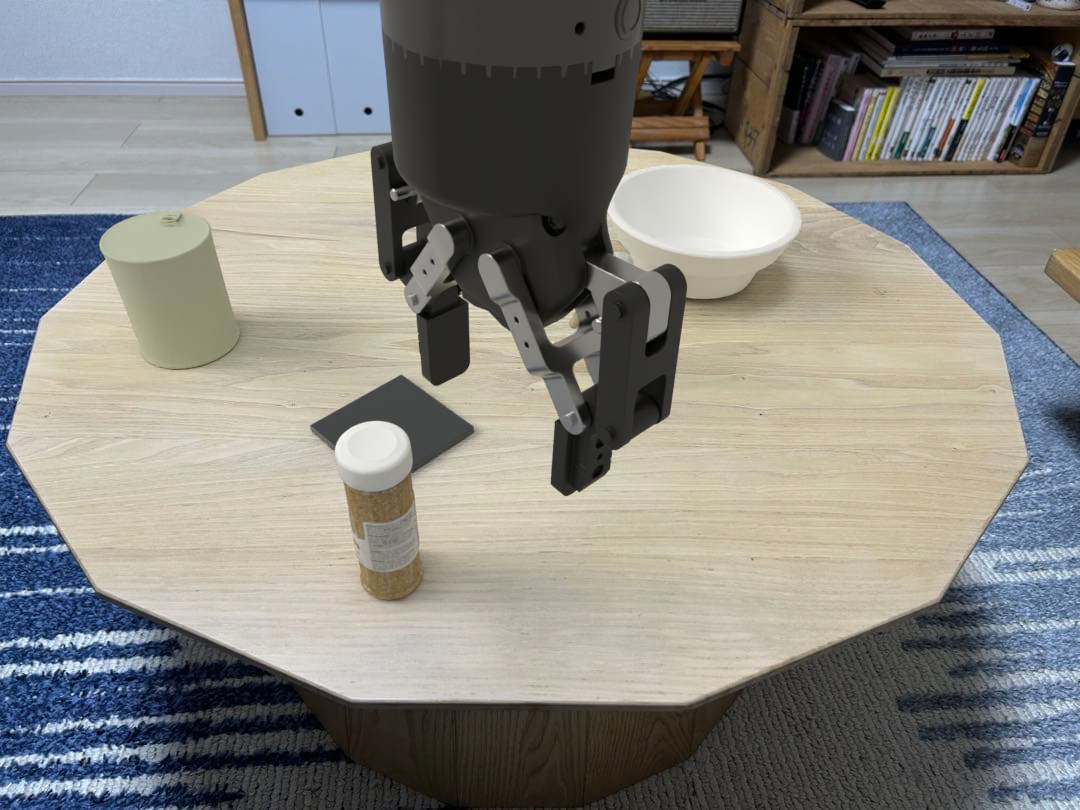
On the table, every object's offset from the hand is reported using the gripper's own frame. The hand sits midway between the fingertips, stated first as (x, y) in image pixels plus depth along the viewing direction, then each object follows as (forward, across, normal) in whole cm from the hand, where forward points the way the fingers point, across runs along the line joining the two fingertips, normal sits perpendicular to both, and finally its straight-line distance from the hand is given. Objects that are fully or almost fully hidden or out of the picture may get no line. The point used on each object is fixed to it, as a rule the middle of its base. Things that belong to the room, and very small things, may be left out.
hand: (507, 425), depth 33 cm
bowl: (+24, -26, +49) cm, 60 cm away
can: (+24, -48, +1) cm, 54 cm away
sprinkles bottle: (+24, -12, 0) cm, 27 cm away
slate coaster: (+24, -25, +8) cm, 36 cm away
